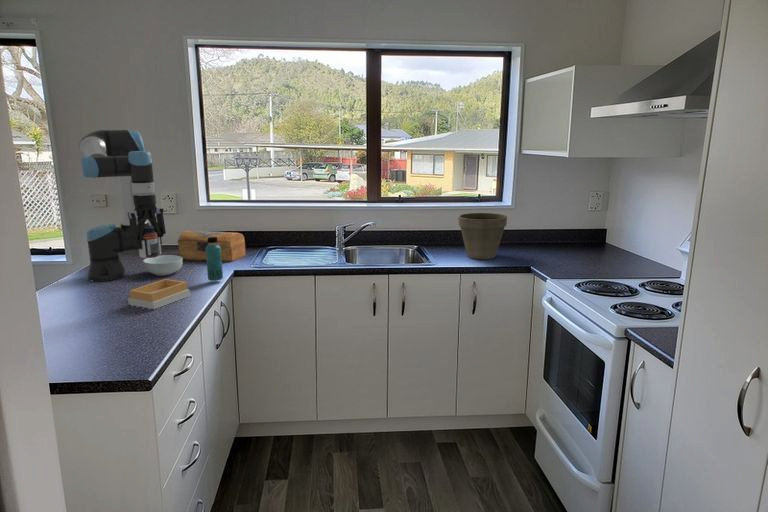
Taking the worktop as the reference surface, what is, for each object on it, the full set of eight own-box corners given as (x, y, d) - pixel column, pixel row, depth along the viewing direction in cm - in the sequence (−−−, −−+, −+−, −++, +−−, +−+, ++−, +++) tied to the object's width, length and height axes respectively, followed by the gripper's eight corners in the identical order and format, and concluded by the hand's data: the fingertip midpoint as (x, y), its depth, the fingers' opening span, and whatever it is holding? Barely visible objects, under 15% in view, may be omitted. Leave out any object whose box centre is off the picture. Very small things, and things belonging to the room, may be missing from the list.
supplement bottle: (139, 256, 195) (136, 226, 192) (155, 253, 199) (152, 224, 196) (145, 259, 191) (142, 229, 188) (162, 256, 195) (159, 226, 192)
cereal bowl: (169, 279, 230) (168, 264, 229) (136, 277, 234) (134, 262, 232) (190, 269, 247) (189, 255, 245) (159, 268, 250) (158, 253, 248)
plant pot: (448, 253, 278) (449, 213, 273) (486, 249, 288) (487, 210, 283) (474, 264, 256) (476, 220, 251) (514, 259, 266) (517, 217, 261)
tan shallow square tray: (119, 304, 197) (117, 289, 196) (156, 291, 213) (155, 277, 212) (154, 310, 190) (152, 294, 189) (190, 296, 206) (189, 282, 205)
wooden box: (177, 260, 266) (174, 233, 263) (195, 253, 282) (193, 228, 278) (230, 263, 259) (228, 236, 256) (246, 255, 275) (244, 230, 272)
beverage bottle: (207, 284, 222) (203, 239, 218) (208, 280, 228) (204, 236, 224) (223, 283, 224) (219, 238, 219) (223, 279, 230) (220, 235, 226)
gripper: (127, 197, 180) (134, 262, 185) (172, 192, 196) (178, 251, 201) (113, 196, 183) (121, 259, 189) (159, 190, 199) (165, 249, 205)
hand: (150, 255), depth 195 cm, fingers closed on supplement bottle, 6 cm apart
